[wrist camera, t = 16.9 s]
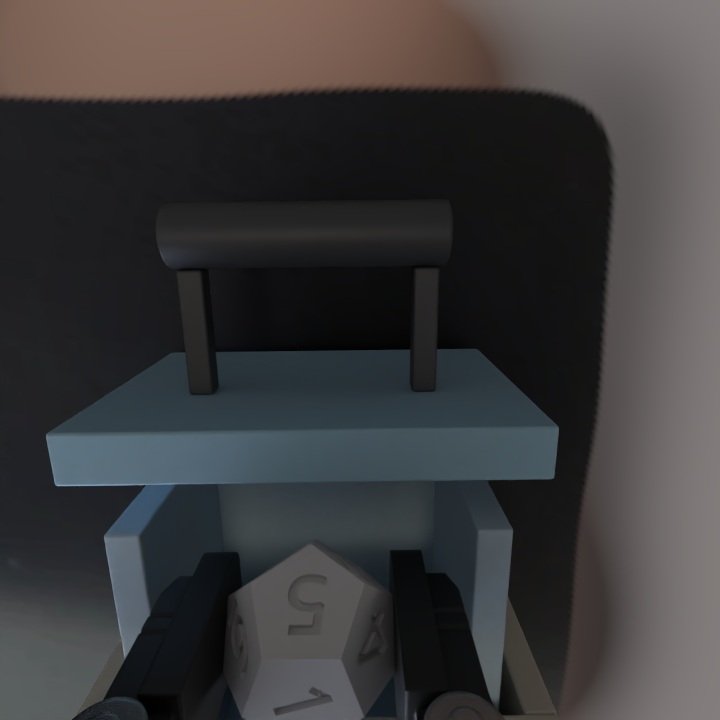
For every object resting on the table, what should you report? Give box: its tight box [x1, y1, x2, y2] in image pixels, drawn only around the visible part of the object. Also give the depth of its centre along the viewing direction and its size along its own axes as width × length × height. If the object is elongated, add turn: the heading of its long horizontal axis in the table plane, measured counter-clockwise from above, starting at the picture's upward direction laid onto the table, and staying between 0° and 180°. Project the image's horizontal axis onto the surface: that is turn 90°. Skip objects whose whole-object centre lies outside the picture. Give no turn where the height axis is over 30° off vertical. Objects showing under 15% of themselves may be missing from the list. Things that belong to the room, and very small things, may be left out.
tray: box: [46, 199, 559, 720], centre depth 14 cm, size 18×10×7 cm, turn 1°
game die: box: [223, 539, 395, 720], centre depth 10 cm, size 4×4×3 cm
